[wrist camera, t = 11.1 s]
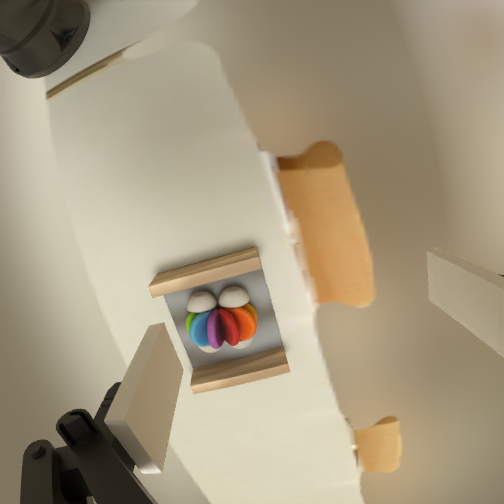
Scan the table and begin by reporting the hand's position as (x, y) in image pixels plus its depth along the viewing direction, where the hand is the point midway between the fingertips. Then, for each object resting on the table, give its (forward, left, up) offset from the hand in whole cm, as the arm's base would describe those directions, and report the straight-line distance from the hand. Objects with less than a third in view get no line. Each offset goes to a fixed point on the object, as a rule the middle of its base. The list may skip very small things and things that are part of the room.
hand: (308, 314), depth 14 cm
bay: (+12, -8, -28) cm, 32 cm away
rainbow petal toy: (+11, -8, -28) cm, 31 cm away
